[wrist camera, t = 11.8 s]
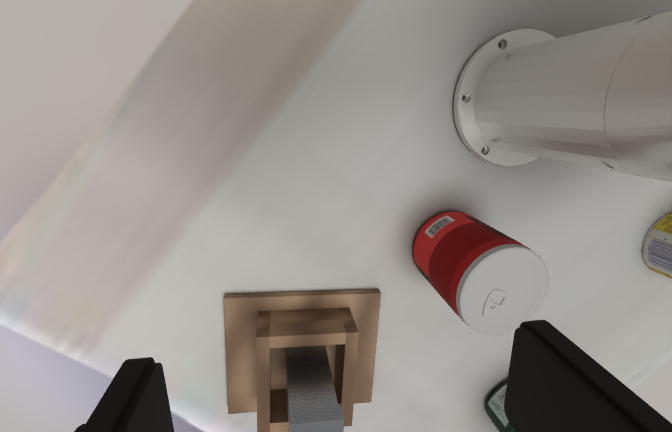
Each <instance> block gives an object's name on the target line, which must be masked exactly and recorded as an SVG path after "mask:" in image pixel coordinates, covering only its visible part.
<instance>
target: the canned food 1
mask: <svg viewBox="0 0 672 432" xmlns="http://www.w3.org/2000/svg"><path fill="white" fill-rule="evenodd" d="M413 254H414V260H415V263H416V266H417V268H418V270H419V271H420V272H421V274H422V275H423V276H424V277H425V278H426V279H427V281H428V282H429V283H430V284H431V285H432V286H433V288H434V289H435V290H436V291H437V292H438V293H439V294H440V296H441V297H442V298H443V299H444V300H445V301H446V303H447V304H448V305H449V306H450V307H451V308H452V309H453V311H454V312H455V313H456V314H457V315H458V316H459V317H460V318H461V319H462V320H463V321H464V322H465V323H466V324H467V325H468V326H469V327H470V328H471V329H472V330H474V331H476V332H477V333H480V334H483V335H490V336H496V335H503V334H506V333H510V332H512V331H514V330H516V329H517V328H519V327H520V324H521V323H522V322H525V321H529V320H530V319H531V318H532V317H533V316H534V315H535V314H536V312H537V311H538V310H539V308H540V307H541V305H542V303H543V302H544V299H545V297H546V294H547V290H548V285H549V275H548V270H547V267H546V265H545V263H544V261H543V260H542V259H541V257H540V256H539V255H537V254H536V253H535V252H534V251H532V250H531V249H529V248H528V247H526V246H524V245H522V244H521V243H519V242H518V241H516V240H514V239H512V238H510V237H508V236H507V235H505V234H503V233H501V232H499V231H497V230H496V229H494V228H492V227H490V226H488V225H486V224H485V223H483V222H481V221H479V220H477V219H475V218H474V217H472V216H470V215H468V214H465V213H463V212H444V213H440V214H438V215H436V216H434V217H432V218H431V219H429V220H428V221H427V222H426V223H425V224H424V225H423V226H422V227H421V229H420V230H419V232H418V234H417V236H416V238H415V241H414V246H413Z"/></svg>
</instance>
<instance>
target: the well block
mask: <svg viewBox="0 0 672 432" xmlns="http://www.w3.org/2000/svg"><path fill="white" fill-rule="evenodd" d="M380 298H381V292H380V291H379V289H355V290H324V291H293V292H261V293H230V294H225V296H224V316H225V341H226V366H227V391H228V414H234V413H246V412H257V432H288V413H287V390H286V347H302V346H320V345H325V346H326V350H327V355H328V360H329V364H330V369H331V374H332V378H333V383H334V388H335V392H336V397H337V402H338V404H341V408H342V412H343V417H344V426H352V415H353V403H365V402H371V397H372V386H373V375H374V364H375V353H376V342H377V331H378V320H379V309H380Z"/></svg>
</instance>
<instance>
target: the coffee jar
mask: <svg viewBox="0 0 672 432" xmlns="http://www.w3.org/2000/svg"><path fill="white" fill-rule="evenodd" d="M506 387H507V381H506V382H504V383H503V384H502V385H500V386H499V387H498V388H497V389H496V390H495V391H494V392H493V394H492V395H491V397H490V398H489V400H488V402H487V405H486V410H487V413H488V416H489V417H490V419H491V420H492V422H493V423H494V425H495V426H496V428H497V429H498V430H499V432H516V431H515V429H514V428H513V426H512V425H511V424H510V422H509V421H508V419H507V417H506V415H505V411H504V401H505V394H506Z"/></svg>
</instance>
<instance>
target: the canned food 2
mask: <svg viewBox="0 0 672 432" xmlns="http://www.w3.org/2000/svg"><path fill="white" fill-rule="evenodd" d="M642 259H643V261H644V263H645V265H646V266H647V267H648V268H649V269H651V270H653V271H656V272H658V273H660V274H663V275H665V276H667V277H669V278H672V212H671V213H669V214H666V215H664V216H663V217H661V218H660V219H659V220H657V221H656V222H655V223H654V225H653V226H652V227H651V228H650V229H649V231H648V233H647V234H646V236H645V239H644V241H643V245H642Z"/></svg>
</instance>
